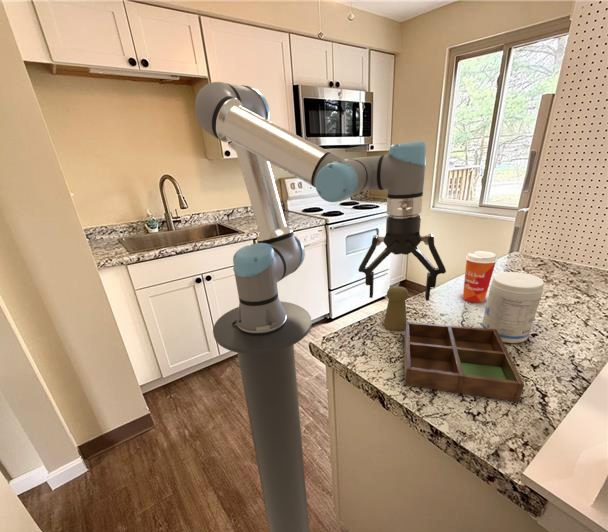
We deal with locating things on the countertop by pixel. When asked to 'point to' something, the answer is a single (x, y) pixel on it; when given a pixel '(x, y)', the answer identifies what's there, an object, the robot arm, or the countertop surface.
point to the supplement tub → (512, 305)
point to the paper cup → (478, 275)
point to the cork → (396, 308)
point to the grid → (460, 361)
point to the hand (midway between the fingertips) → (398, 297)
